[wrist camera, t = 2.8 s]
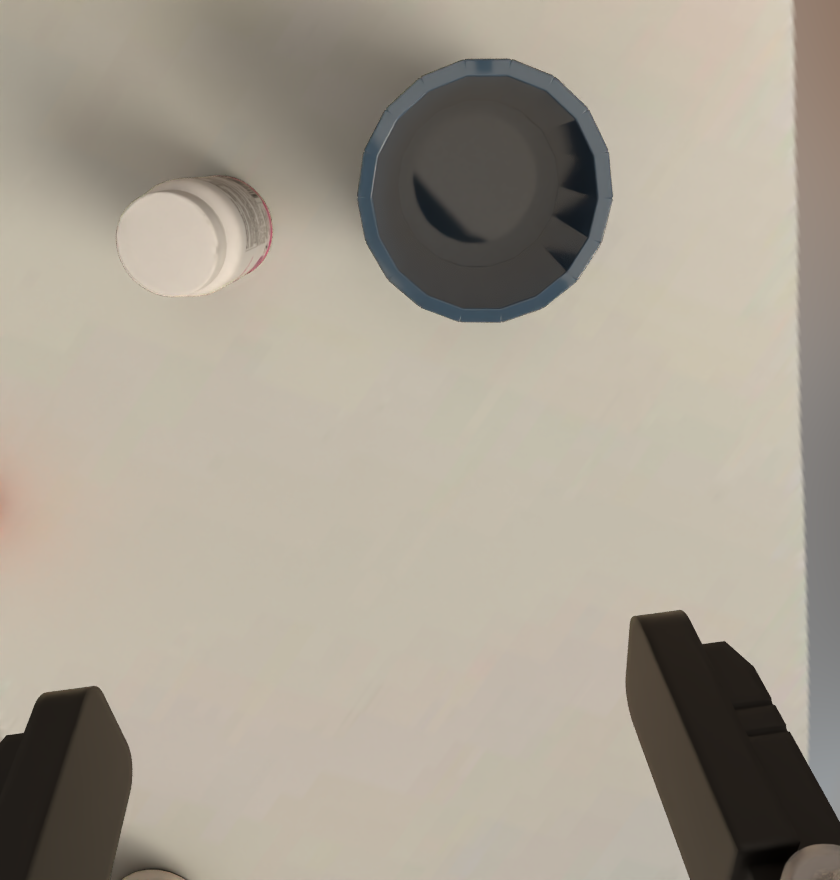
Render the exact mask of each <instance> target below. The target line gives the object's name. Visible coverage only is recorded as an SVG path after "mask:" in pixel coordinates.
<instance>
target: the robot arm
mask: <svg viewBox="0 0 840 880" xmlns="http://www.w3.org/2000/svg"><path fill="white" fill-rule="evenodd" d="M626 695H627V701H628V707H629V711H630V715H631V718H632V722H633V725H634V727H635V730H636V733H637V736H638V738H639V741H640V744H641V747H642V749H643V752H644V755H645V758H646V760H647V763H648V766H649V768H650V771H651V774H652V777H653V779H654V782H655V785H656V788H657V790H658V793H659V796H660V798H661V801H662V804H663V807H664V809H665V812H666V815H667V818H668V820H669V823H670V826H671V829H672V831H673V834H674V837H675V839H676V842H677V845H678V848H679V850H680V853H681V856H682V859H683V861H684V864H685V867H686V869H687V872H688V875H689V878H690V880H840V822H839V820H838V818H837V816H836V814H835V813H834V811H833V809H832V807H831V805H830V804H829V802H828V800H827V798H826V796H825V794H824V793H823V791H822V789H821V787H820V786H819V784H818V782H817V780H816V778H815V776H814V775H813V773H812V771H811V769H810V767H809V766H808V764H807V762H806V760H805V758H804V757H803V755H802V753H801V751H800V749H799V748H798V746H797V744H796V742H795V740H794V738H793V737H792V735H791V733H790V732H788V731H787V729H786V724H785V722H784V720H783V719H782V717H781V715H780V713H779V711H778V710H777V708H776V706H775V705H773V704H772V701H771V697H770V695H769V693H768V692H767V690H766V688H765V686H764V684H763V682H762V681H761V679H760V677H759V675H758V673H757V672H756V670H755V668H754V667H753V666H752V665H751V664H750V663H749V662H748V661H747V660H745V659H744V658H743V657H742V656H741V655H740V654H739V653H738V652H736V651H735V650H734V649H733V648H732V647H731V646H730V645H729V644H727V643H726V642H725V641H723V642H715V643H708V644H702V643H701V641H700V639H699V637H698V635H697V633H696V631H695V629H694V627H693V625H692V623H691V621H690V620H689V618H688V616H687V615H686V613H685V612H684V611H682V610H677V611H669V612H662V613H654V614H647V615H639V616H633V617H632V618H631V621H630V629H629V642H628V655H627V668H626ZM131 784H132V759H131V753H130V749H129V746H128V744H127V742H126V740H125V738H124V736H123V733H122V731H121V729H120V727H119V725H118V723H117V721H116V719H115V717H114V715H113V713H112V711H111V709H110V707H109V705H108V703H107V701H106V698H105V696H104V694H103V693H102V691H101V690H100V688H98V687H97V686H91V687H83V688H76V689H68V690H61V691H53V692H46V693H43V694H42V695H41V696H40V697H39V698H38V700H37V701H36V703H35V705H34V708H33V710H32V713H31V716H30V718H29V721H28V724H27V726H26V729H25V732H24V733H20V734H13V735H6V736H5V738H4V739H3V740H2V741H1V743H0V880H110V876H111V872H112V868H113V863H114V859H115V855H116V850H117V846H118V842H119V838H120V833H121V829H122V825H123V821H124V816H125V812H126V808H127V803H128V799H129V795H130V790H131Z"/></svg>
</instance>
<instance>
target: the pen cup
mask: <svg viewBox="0 0 840 880" xmlns="http://www.w3.org/2000/svg"><path fill="white" fill-rule="evenodd" d="M364 151H365V152H363V157H362V164H361V171H360V178H359V185H358V192H357V197H358V198H357V201H358V206H359V211H360V217H361V222H362V227H363V232H364V237H365V241H366V244H367V245H368V247H369V249H370V251H371V252H372V254H373V256H374V257H375V259H376V261H377V263H378V264H379V266H380V268H381V270H382V271H383V273H384V275H385V276H386V278H387V279H388V280H389V282H391V283H392V284H393V285H394V286H395V287H397V288H398V289H399V290H400V291H401V292H402V293H404V294H405V295H406V296H407V297H408V298H410V299H411V300H412V301H413V302H414V303H415V304H417V305H418V306H419V307H420V306H421V308H423V309H425V310H428V311H431V312H433V313H436V314H439V315H441V316H444V317H447V318H449V319H452V320H455V321H457V322H486V323H500V322H505V321H508V320H511V319H514V318H517V317H520V316H523V315H525V314H528V313H531V312H534V311H537V310H540V309H542V308H544V307H545V306H547V305H548V304H549V303H550V302H552V301H553V300H554V299H555V298H557V297H558V296H559V295H561V294H562V293H563V292H564V291H566V290H567V289H568V288H569V287H571V286H572V285H573V284H575V283H576V282H577V281H576V280H578V279H579V278H580V276H581V275H582V273H583V272H584V270H585V268H586V267H587V265H588V264H589V262H590V261H591V259H592V258H593V256H594V255H595V253H596V251H597V250H598V248H599V247H600V245H601V242H602V241H603V237H604V233H605V229H606V225H607V220H608V216H609V212H610V208H611V204H612V200H613V199H612V197H613V191H612V181H611V170H610V159H609V152H607V151H608V148H607V146H606V144H605V142H604V140H603V138H602V136H601V134H600V132H599V129H598V127H597V125H596V123H595V121H594V119H593V117H592V115H591V113H590V110H589V109H588V108H587V106H585V105H584V104H583V103H582V102H581V101H580V100H579V99H578V98H577V97H576V96H575V95H574V94H573V93H572V92H571V91H570V90H569V89H568V88H567V87H566V86H564V85H563V84H562V83H561V82H560V81H559V80H558V79H557V78H556V77H554V76H553V75H551V74H548V73H546V72H543V71H541V70H538V69H536V68H533V67H531V66H528V65H526V64H523V63H521V62H518V61H516V60H513V59H512V60H511V59H465V60H460V61H458V62H455V63H453V64H450V65H448V66H445V67H443V68H440V69H438V70H435V71H433V72H430V73H428V74H425V75H423V76H421V78H418V79H417V80H416V81H415V82H414V83H413V84H412V85H411V86H410V87H408V88H407V89H406V90H405V91H404V92H403V93H402V94H401V95H400V96H399V97H398V98H397V99H395V100H394V101H393V102H392V103H391V104H390V105H389V106H388V107H387V108H386V110H385V111H384V112H383V114H382V116H381V118H380V120H379V122H378V124H377V126H376V128H375V130H374V132H373V133H372V135H371V137H370V139H369V141H368V143H367V145H366V147H365V149H364Z"/></svg>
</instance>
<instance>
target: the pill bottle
mask: <svg viewBox="0 0 840 880" xmlns="http://www.w3.org/2000/svg"><path fill="white" fill-rule="evenodd" d="M272 238H273V226H272V219H271V215H270V212H269V210H268V207H267V205H266V203H265V202H264V200H263V199H262V197H261V196H260V195H259V194H258V193H257V192H256V191H255V190H254V189H253V188H252V187H251V186H249V185H248V184H246V183H245V182H243V181H241V180H239V179H236V178H233V177H228V176H220V175H219V176H208V177H194V178H180V179H173V180H169V181H165V182H162V183H160V184H158V185H156V186H154V187H153V188H151V189H150V190H149V191H148V192H146V193H145V194H144V195H143V196H141V197H139V198H137V199H136V200H134V201H133V202H132V203H131V204H130V205H129V206H128V207H127V208H126V209H125V211H124V212H123V214H122V216H121V218H120V220H119V223H118V226H117V232H116V244H117V251H118V254H119V258H120V260H121V262H122V264H123V266H124V268H125V270H126V271H127V273H128V274H129V275H130V277H131V278H132V279H133V280H134V281H135V282H136V283H138V284H139V285H140V286H142V287H143V288H145V289H146V290H148V291H150V292H152V293H155V294H158V295H161V296H166V297H180V296H188V297H196V296H203V295H208V294H211V293H213V292H215V291H217V290H219V289H221V288H223V287H225V286H227V285H229V284H230V283H232V282H234V281H236V280H237V279H239V278H241V277H243V276H244V275H246V274H248V273H250V272H251V271H253V270H254V269H255V268H257V267H258V266H259V265H260V264H261V262H262V261H263V260H264V259H265V257H266V255H267V254H268V252H269V249H270V247H271V243H272Z"/></svg>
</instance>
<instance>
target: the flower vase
mask: <svg viewBox="0 0 840 880" xmlns="http://www.w3.org/2000/svg"><path fill="white" fill-rule="evenodd" d="M123 880H185V879H183V878H182V877H180V876H178V875H175V874H173V873H171V872H167V871H162V870H143V871H137V872H134V873H132V874H130V875H128V876H126V877H125V878H124V879H123Z"/></svg>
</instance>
